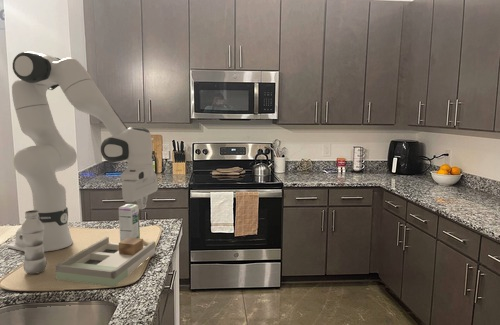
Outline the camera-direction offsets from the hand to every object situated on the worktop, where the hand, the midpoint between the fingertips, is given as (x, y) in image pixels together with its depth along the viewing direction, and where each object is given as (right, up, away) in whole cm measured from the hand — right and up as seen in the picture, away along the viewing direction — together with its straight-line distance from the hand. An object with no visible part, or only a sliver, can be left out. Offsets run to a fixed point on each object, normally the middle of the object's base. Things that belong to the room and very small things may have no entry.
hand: (142, 208), depth 138 cm
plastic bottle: (-29, -19, -18) cm, 39 cm away
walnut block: (-2, -15, -6) cm, 16 cm away
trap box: (-8, -18, -11) cm, 22 cm away
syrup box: (-9, -15, +13) cm, 21 cm away
